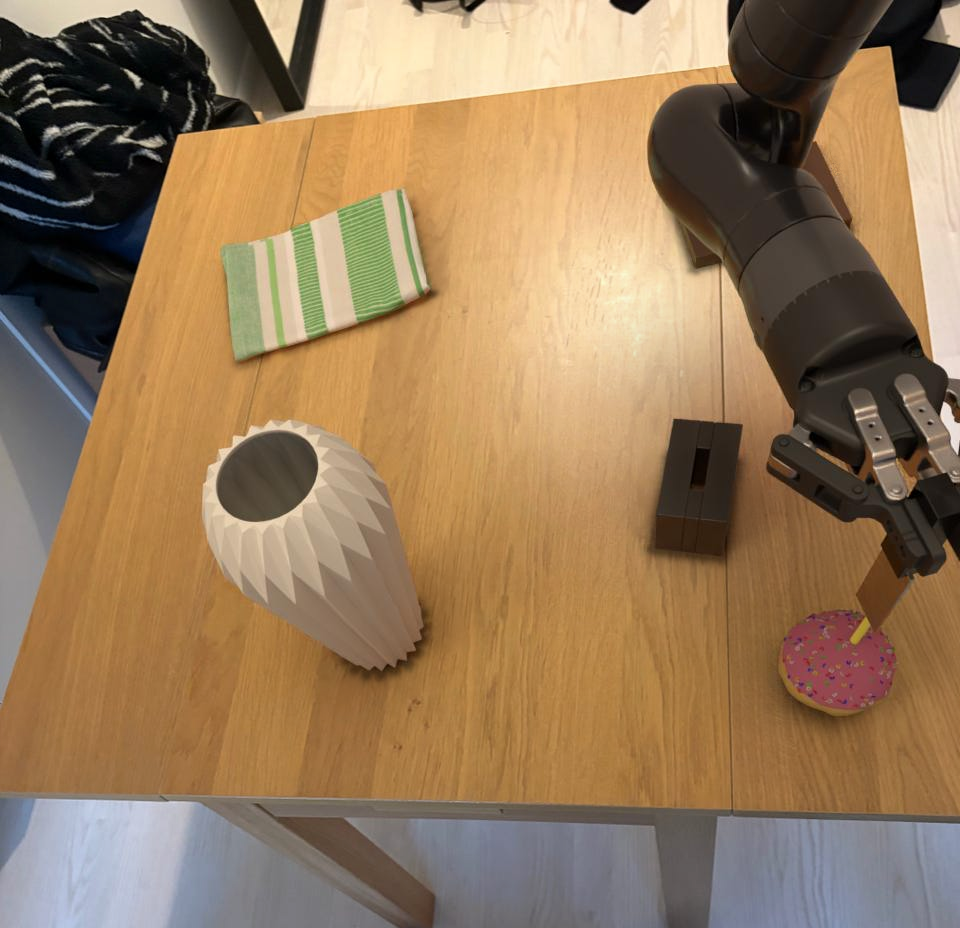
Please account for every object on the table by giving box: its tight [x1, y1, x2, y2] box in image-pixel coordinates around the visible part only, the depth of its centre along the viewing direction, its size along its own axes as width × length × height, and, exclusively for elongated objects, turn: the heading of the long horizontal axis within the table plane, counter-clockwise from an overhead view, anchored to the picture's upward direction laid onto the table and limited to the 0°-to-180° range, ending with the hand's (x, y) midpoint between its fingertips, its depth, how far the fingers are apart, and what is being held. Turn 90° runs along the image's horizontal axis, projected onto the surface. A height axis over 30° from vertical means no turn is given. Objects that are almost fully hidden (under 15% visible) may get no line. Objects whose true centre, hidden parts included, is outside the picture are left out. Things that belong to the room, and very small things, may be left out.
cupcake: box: [777, 607, 899, 717], centre depth 63 cm, size 9×8×12 cm
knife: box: [855, 472, 960, 633], centre depth 49 cm, size 2×3×15 cm, turn 14°
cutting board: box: [677, 140, 853, 269], centre depth 88 cm, size 16×12×2 cm
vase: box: [201, 418, 425, 672], centre depth 65 cm, size 13×13×26 cm
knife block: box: [654, 418, 744, 556], centre depth 74 cm, size 6×10×6 cm, turn 167°
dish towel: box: [220, 188, 432, 362], centre depth 95 cm, size 18×23×3 cm
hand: (956, 561), depth 42 cm, fingers closed on knife, 1 cm apart
